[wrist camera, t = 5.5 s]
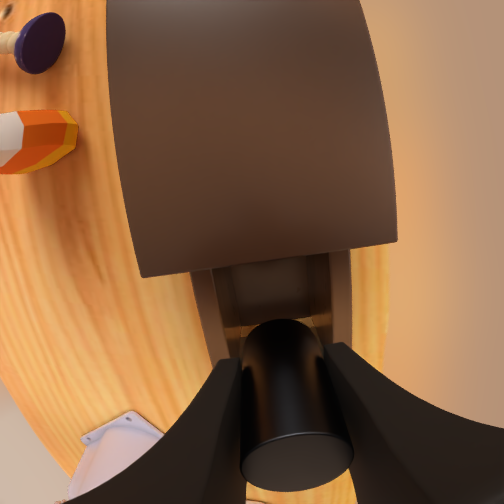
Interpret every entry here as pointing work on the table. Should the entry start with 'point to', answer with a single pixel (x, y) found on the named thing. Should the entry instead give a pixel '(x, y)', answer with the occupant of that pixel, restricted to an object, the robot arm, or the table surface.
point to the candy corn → (35, 139)
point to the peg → (289, 411)
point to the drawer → (275, 299)
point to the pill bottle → (253, 502)
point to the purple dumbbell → (35, 43)
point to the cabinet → (247, 131)
